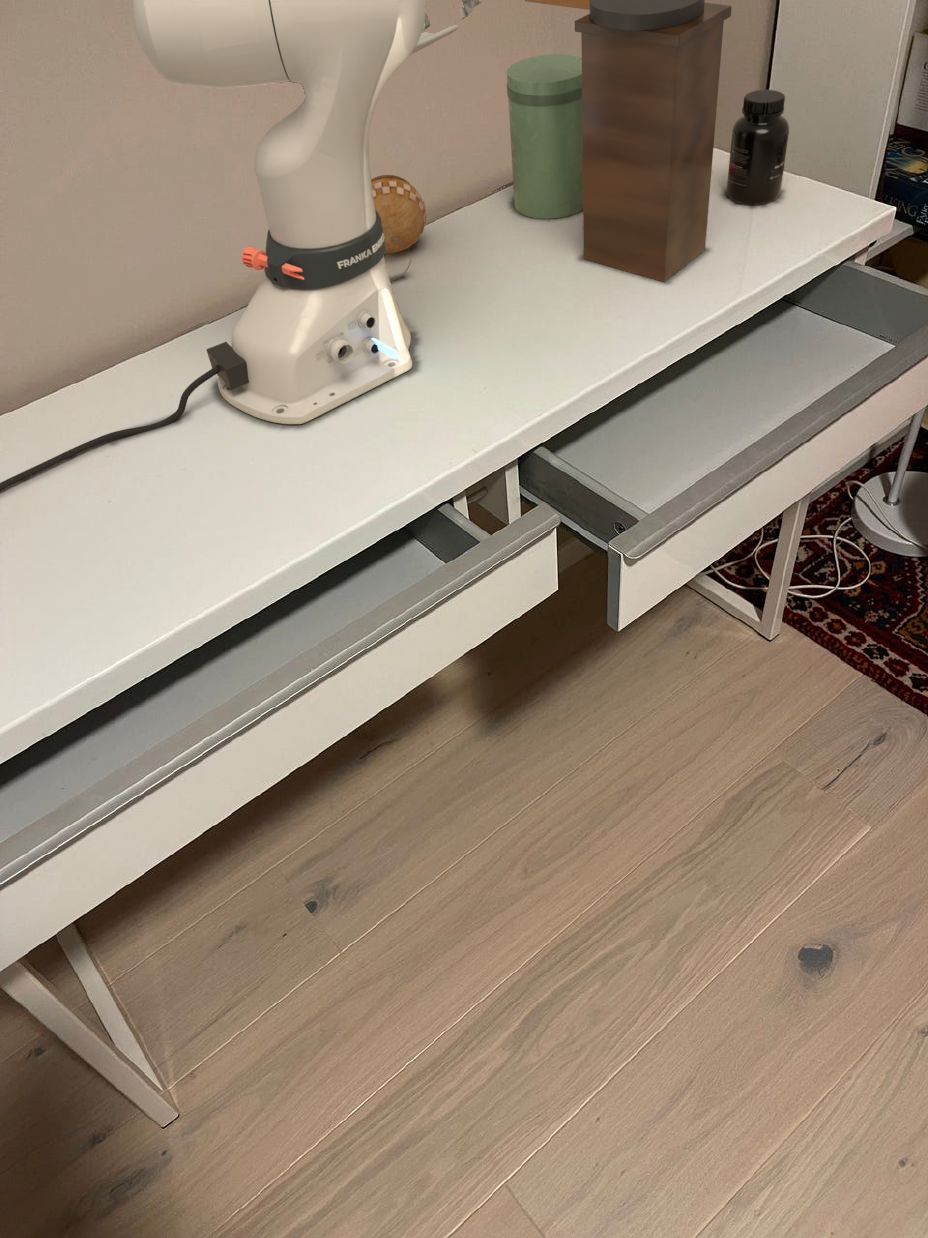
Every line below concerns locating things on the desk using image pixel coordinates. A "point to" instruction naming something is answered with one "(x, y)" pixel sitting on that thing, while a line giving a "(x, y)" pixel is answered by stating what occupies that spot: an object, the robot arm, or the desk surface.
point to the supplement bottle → (758, 149)
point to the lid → (635, 12)
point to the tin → (546, 135)
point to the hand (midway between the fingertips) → (450, 6)
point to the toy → (398, 212)
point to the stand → (649, 141)
